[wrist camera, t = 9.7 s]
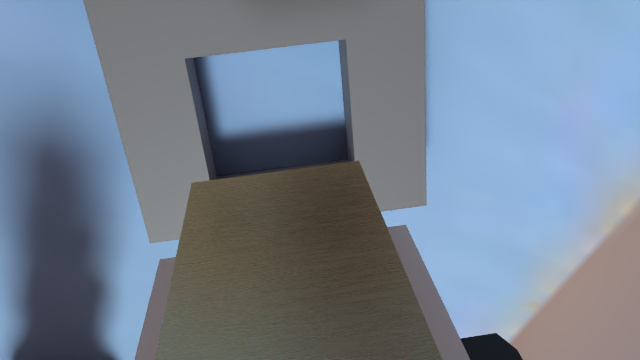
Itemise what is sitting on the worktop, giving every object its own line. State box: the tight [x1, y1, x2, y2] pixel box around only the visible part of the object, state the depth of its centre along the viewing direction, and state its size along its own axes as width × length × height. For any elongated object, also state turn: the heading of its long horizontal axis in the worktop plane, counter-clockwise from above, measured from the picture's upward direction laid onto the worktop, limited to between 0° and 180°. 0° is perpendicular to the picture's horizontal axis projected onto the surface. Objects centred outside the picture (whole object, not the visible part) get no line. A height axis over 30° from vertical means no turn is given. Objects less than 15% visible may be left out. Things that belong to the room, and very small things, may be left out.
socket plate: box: [83, 0, 426, 243], centre depth 23 cm, size 13×19×2 cm
